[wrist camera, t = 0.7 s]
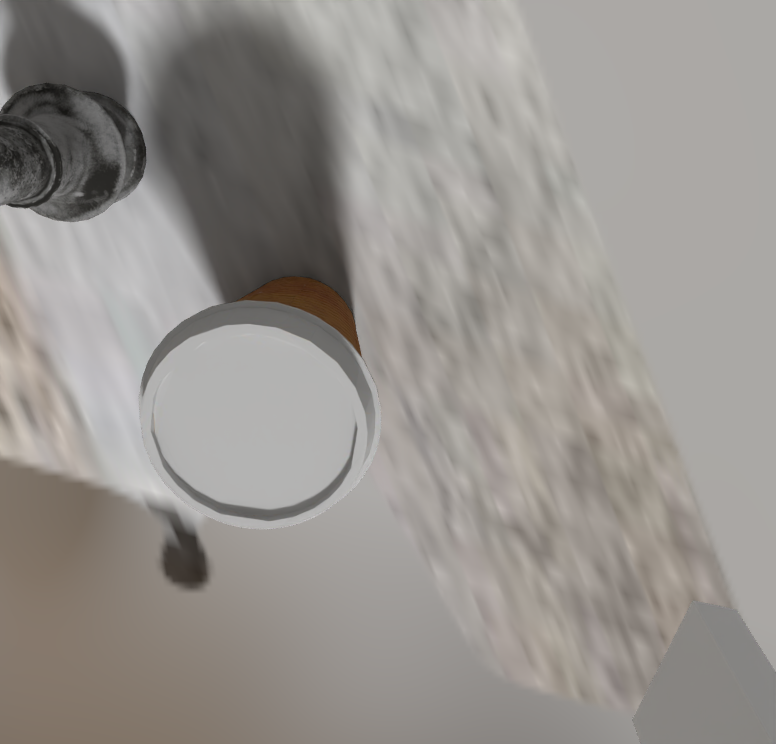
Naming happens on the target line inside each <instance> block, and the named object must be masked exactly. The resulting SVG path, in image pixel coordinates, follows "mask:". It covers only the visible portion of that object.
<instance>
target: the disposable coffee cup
mask: <svg viewBox="0 0 776 744" xmlns="http://www.w3.org/2000/svg"><path fill="white" fill-rule="evenodd" d="M139 412H140V422H141V429H142V435H143V442H144V446H145V449H146V451H147V454H148V456H149V459H150V461H151V464H152V465H153V467H154V468H155V470H156V472H157V473H158V475H159V476H160V478H161V479H162V481H163V482H164V484H165V485H166V486H167V487H168V488H169V489H170V490H171V491H172V492H173V493H174V494H175V495H176V496H177V497H178V498H179V499H181V500H182V501H183V502H184V503H186V504H187V505H188V506H190V507H191V508H193V509H195V510H196V511H198V512H200V513H202V514H203V515H205V516H207V517H209V518H212V519H214V520H217V521H220V522H222V523H225V524H229V525H233V526H237V527H241V528H251V529H277V528H282V527H287V526H292V525H297V524H299V523H302V522H304V521H307V520H309V519H311V518H313V517H315V516H317V515H319V514H321V513H323V512H325V511H326V510H328V509H329V508H330V507H331V506H333V505H334V504H335V503H336V502H338V501H339V500H340V499H342V498H343V497H344V496H345V495H347V494H348V493H349V492H350V491H351V490H352V489H353V488H354V487H355V486H356V485H357V484H358V483H359V482H360V481H361V479H362V477H363V476H364V474H365V473H366V471H367V469H368V468H369V466H370V465H371V463H372V461H373V458H374V455H375V453H376V450H377V447H378V443H379V438H380V432H381V407H380V401H379V396H378V391H377V387H376V385H375V382H374V380H373V378H372V376H371V374H370V372H369V370H368V367H367V365H366V363H365V361H364V360H363V358H362V356H361V350H360V345H359V341H358V337H357V332H356V325H355V322H354V318H353V315H352V313H351V311H350V309H349V308H348V306H347V304H346V303H345V301H344V300H343V299H342V298H341V297H340V296H339V295H338V294H337V292H335V291H334V290H333V289H331V288H330V287H328V286H327V285H325V284H323V283H321V282H319V281H316V280H314V279H311V278H305V277H295V276H293V277H283V278H280V279H276V280H272V281H271V282H269V283H267V284H265V285H263V286H262V287H260V288H258V289H257V290H255V291H253V292H251V293H250V294H248V295H246V296H244V297H243V298H241V299H239V300H237V301H236V302H232V303H226V304H221V305H216V306H212V307H209V308H207V309H205V310H203V311H201V312H199V313H197V314H195V315H193V316H191V317H190V318H188V319H186V320H184V321H183V322H181V323H180V324H179V325H178V326H177V327H175V328H174V329H173V330H172V331H171V332H170V333H168V334H167V335H166V337H165V338H164V339H163V340H162V342H161V343H160V344H159V345H158V347H157V348H156V349H155V350H154V352H153V354H152V356H151V358H150V359H149V361H148V363H147V366H146V369H145V371H144V374H143V377H142V382H141V387H140V393H139Z"/></svg>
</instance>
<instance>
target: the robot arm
mask: <svg viewBox="0 0 776 744" xmlns="http://www.w3.org/2000/svg"><path fill="white" fill-rule="evenodd" d="M632 721H633V723H634V726H635V729H636V732H637V735H638V737H639V740H640V743H641V744H776V672H775V670H774V669H773V667H772V665H771V664H770V662H769V661H768V659H767V657H766V656H765V654H764V653H763V651H762V650H761V648H760V646H759V645H758V643H757V642H756V640H755V638H754V637H753V635H752V634H751V632H750V630H749V629H748V627H747V626H746V624H745V623H744V621H743V619H742V618H741V616H740V615H739V613H738V611H737V610H736V609H731V608H727V607H722V606H717V605H712V604H708V603H703V602H698V601H694V600H693V601H692V603H691V605H690V607H689V609H688V611H687V613H686V615H685V617H684V619H683V621H682V623H681V624H680V626H679V628H678V630H677V632H676V634H675V636H674V638H673V640H672V642H671V644H670V646H669V648H668V650H667V652H666V654H665V656H664V658H663V660H662V662H661V664H660V666H659V668H658V670H657V672H656V674H655V676H654V678H653V680H652V682H651V684H650V686H649V688H648V690H647V692H646V694H645V696H644V698H643V700H642V702H641V704H640V706H639V708H638V709H637V711H636V713H635V715H634V717H633V720H632Z"/></svg>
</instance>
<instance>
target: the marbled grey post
mask: <svg viewBox="0 0 776 744" xmlns="http://www.w3.org/2000/svg"><path fill="white" fill-rule="evenodd" d="M145 165H146V147H145V143H144V139H143V136H142V133H141V131H140V129H139V127H138V125H137V123H136V121H135V120H134V118H133V117H132V116H131V115H130V114H129V113H128V112H127V111H126V109H125V108H124V107H122V106H121V105H119V104H118V103H117V102H115V101H114V100H112V99H111V98H108V97H106V96H103V95H101V94H98V93H92V92H83V91H79V90H76V89H74V88H71V87H69V86H66V85H58V84H50V83H45V84H39V85H34V86H29V87H27V88H25V89H23V90H21V91H19V92H17V93H16V94H14V95H13V96H12V97H11V98H10V99H9V100H8V101H7V102H6V103H5V104H4V105H3V107H2V109H1V111H0V206H1V205H5V204H6V205H8V206H11V207H16V208H30V209H32V210H33V211H35V212H36V213H38V214H40V215H42V216H45V217H48V218H50V219H53V220H57V221H67V222H76V221H82V220H88V219H90V218H92V217H95V216H97V215H99V214H101V213H103V212H104V211H105V210H106V209H107V208H108V207H109V206H111V205H112V204H113V203H115V202H117V201H119V200H121V199H123V198H125V197H127V196H128V195H129V194H130V193H131V192H132V191H133V190H134V189H135V188H136V187H137V185H138V184H139V182H140V180H141V179H142V177H143V173H144V169H145Z"/></svg>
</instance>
